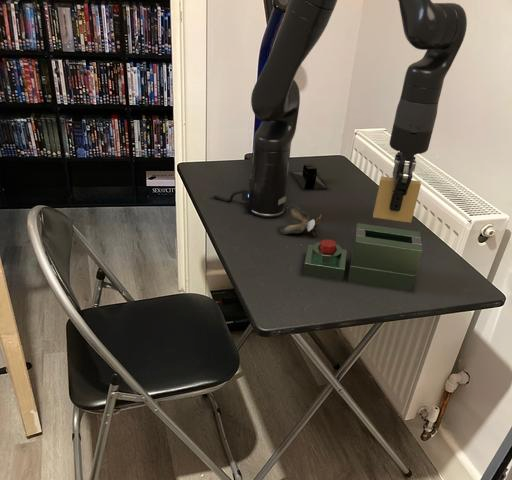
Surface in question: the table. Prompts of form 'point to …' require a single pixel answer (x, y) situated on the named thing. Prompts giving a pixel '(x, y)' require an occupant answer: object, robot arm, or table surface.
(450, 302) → the table surface
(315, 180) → the black block on base
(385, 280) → the toaster
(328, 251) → the button
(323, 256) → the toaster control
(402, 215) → the toast
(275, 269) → the table surface
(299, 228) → the eagle figurine
